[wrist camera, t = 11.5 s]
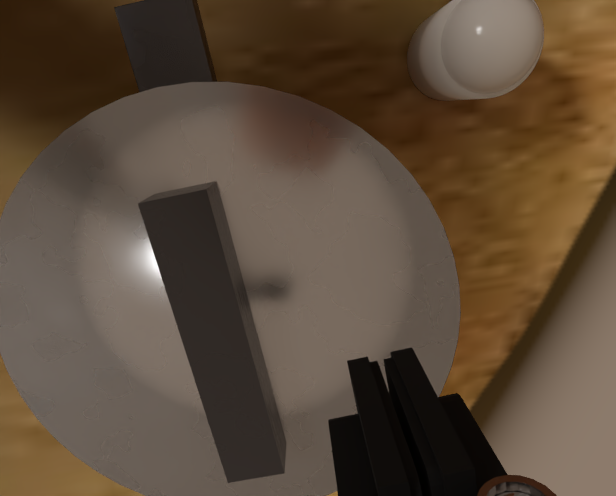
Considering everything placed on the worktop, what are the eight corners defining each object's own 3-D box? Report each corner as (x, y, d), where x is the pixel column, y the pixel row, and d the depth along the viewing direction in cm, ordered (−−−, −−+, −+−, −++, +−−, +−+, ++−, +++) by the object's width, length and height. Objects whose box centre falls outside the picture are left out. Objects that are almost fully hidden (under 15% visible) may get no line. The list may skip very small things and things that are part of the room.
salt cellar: (401, 19, 26) (444, -18, 18) (487, 0, 26) (567, -46, 18) (413, 108, 28) (457, 108, 20) (495, 91, 27) (572, 83, 20)
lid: (-75, 142, 17) (-145, 148, 15) (421, 31, 16) (444, 16, 14) (94, 522, 23) (66, 576, 20) (473, 459, 22) (497, 508, 19)
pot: (20, 76, 27) (-136, 57, 17) (354, 0, 26) (386, -64, 16) (153, 437, 34) (97, 564, 25) (415, 388, 33) (462, 500, 24)
